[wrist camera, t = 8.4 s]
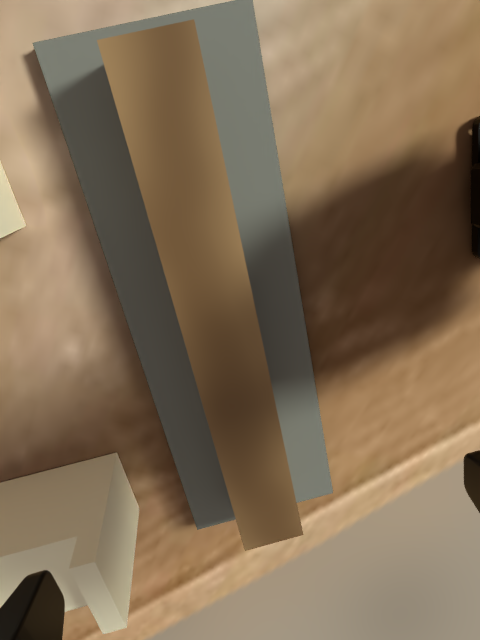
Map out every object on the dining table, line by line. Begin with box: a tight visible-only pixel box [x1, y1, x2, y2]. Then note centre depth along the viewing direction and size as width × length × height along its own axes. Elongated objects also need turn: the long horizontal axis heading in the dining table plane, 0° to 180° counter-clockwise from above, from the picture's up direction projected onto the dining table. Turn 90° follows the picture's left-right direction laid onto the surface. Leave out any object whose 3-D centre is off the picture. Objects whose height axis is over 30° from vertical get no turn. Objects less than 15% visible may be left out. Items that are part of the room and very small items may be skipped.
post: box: [0, 452, 139, 634], centre depth 20 cm, size 6×4×6 cm, turn 102°
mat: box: [33, 0, 333, 530], centre depth 20 cm, size 8×24×1 cm, turn 12°
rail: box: [97, 19, 303, 551], centre depth 18 cm, size 3×22×3 cm, turn 12°
